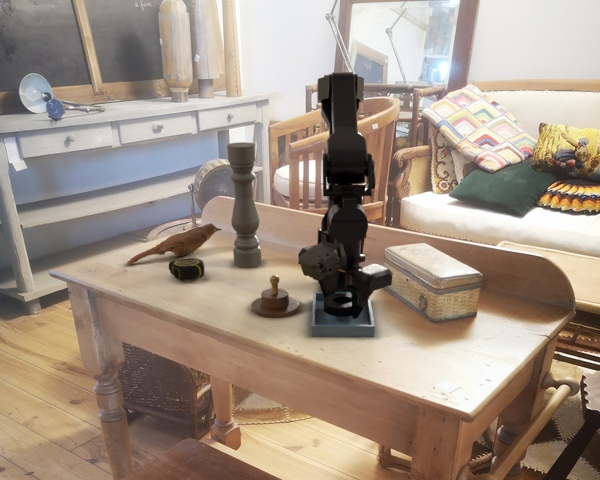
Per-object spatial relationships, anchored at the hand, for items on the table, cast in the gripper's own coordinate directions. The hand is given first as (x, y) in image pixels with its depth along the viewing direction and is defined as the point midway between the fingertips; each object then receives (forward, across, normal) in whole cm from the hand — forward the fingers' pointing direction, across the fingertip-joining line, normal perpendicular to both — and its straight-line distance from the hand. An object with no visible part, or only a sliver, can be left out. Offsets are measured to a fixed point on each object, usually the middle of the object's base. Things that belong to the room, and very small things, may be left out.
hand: (341, 311), depth 108 cm
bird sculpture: (+2, -51, -6) cm, 52 cm away
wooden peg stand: (+1, -12, -7) cm, 13 cm away
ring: (-1, 0, 0) cm, 1 cm away
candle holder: (+2, -36, +3) cm, 36 cm away
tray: (+1, 0, 0) cm, 1 cm away
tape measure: (+2, -37, -12) cm, 39 cm away
